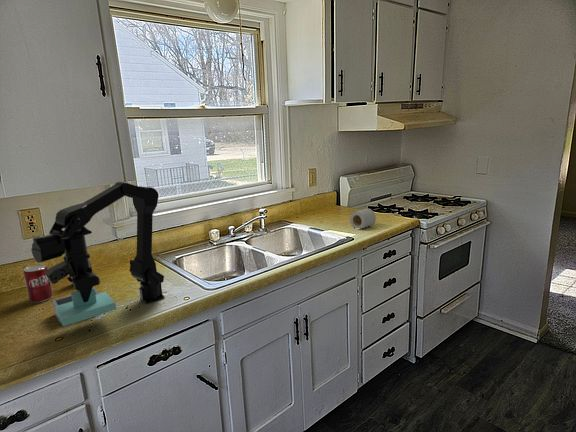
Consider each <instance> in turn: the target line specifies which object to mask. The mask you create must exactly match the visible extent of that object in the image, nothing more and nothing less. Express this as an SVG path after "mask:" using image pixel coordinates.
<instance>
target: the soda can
mask: <svg viewBox="0 0 576 432" xmlns="http://www.w3.org/2000/svg"><path fill="white" fill-rule="evenodd" d="M48 269H49V268H48V266H47V265H46V264H34V265H30V266H27V267H26V268H24V269H23V272H22V273H23V278H24V282H25V287H26V292H27V297H28V300H29V302H30V303H31V304H38V303H44V302H47V301H49V300H50V299H52V297H53V296H54V293H53V288H52V283H51V281H50V280H49V279H48V277H47V276H46V274H45V273H44V272H45V271H46V270H48Z"/></svg>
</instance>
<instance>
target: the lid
mask: <svg viewBox="0 0 576 432" xmlns="http://www.w3.org/2000/svg"><path fill="white" fill-rule="evenodd" d="M95 289H96V288H94V287H93V288H92V291H91V294H90V297H89V300H88V302H84V301H83V299H82V297H81V294H80V292H79V291H78V290H75V291H73V292H70V295H71V296H72V302H69V303H65V304H62V305H58V306H55V310H56V314H57V316H58V318H59V319H60V321H61V323H62V324H61V325H62V327H65V326H69V325H72V324H75V323H78V322H81V321H84V320H88V319H90V318H94V317H96V316H100V315H103V314H106V313H110V312H112V311H115V310H117V305H116V304H117V303H116V301H115V300H114V299H113V298H112V297H111V296H110V295H109V294H108V293H107V292H106V291H104V292H101V293H100V292H99V294H96V295H95Z"/></svg>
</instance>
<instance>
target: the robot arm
mask: <svg viewBox="0 0 576 432" xmlns="http://www.w3.org/2000/svg"><path fill="white" fill-rule="evenodd" d="M124 197H128V198H131V200H132V204H133V206H134V208H135V211H136V213H137V214H136V215H137V216H136V217H137V218H136V255H135V256H134V259H130V260H129V272H130V275H131V277H133V278H134V279H136V281H137V282H138V283H139V284H140V286H139V289H138V291H139V297H140V299H141V300H142V301H143V302H144V303H146V304H149V303H153V302H156V301H159V300H162V299H165V298H166V297H165V295H164V294H163V289H162V283H163V282H164V280H165V275H163V274H162V273H160V272H158V270H157V264H156V261H155V259H154V257H153V215H154V212H155V210H156V209H157V206H158V202H159V192H158V191H157V189H156V188H154V187H151V186H142V185H139V186H138V185H135V184H131V183H130V182H126V181H117V182H115V183H114V184H113V185H112V186H110V187H108V188H106V189H104V190H103V191H101V192H100V193H98V194H96V195H94V196H92V197H91V198H88V200H86V201H84V202H82V203H77V204H74V205H70V206H68V207H65V208H62V209H60V210H58V211H57V213H56V214H55V218H54V219H55V221H54V223H53V225H52V226H51V229H50V231H49V233H48V234H47V235H43V236H36V237H33V239H32V241H33V242H32V243H31V244H32V245H31V250H30V251H31V254H32V257H33V258H34V260H35V262H37V263H38V264H39V263H43V262H46V261H50V260H53V259H57V258H60V257H62V256H63V261H61V262H58V263H57V264H55V265H53V266H52V267H51V266H50V268H48V270H46V271H45V272H44V273H45V274H46V276H47V277H48V279H49V280H50V283H51V285H55V284H57V283H58V282H60V281H61V280H63V279H64V278H66V277H67V278H66V279H67V281H68V282H70V283H71V286H72V287H73V288H74V290H75V291H79V292H80V294H81V297H82V299H83V301H84V302H88V300H89V297H90V294H91V291H92V288H94V287H95V286H99V285H100V284H101V281H100V277H99V276H98V274H96V273H94V272H93V267H92V265H91V266H90V264H89V260H90V258H91V257H90V254H89V253H88V248H87V241H86V236H87V235H91V234H92V230H89V228H86V225H87V224H88V223H89V222H91V220H92V219H93V217H94V216H95V215H96V214H98V213H99V212H100V211H102V210H105V208H107V207H110V205H112V204H114V203H115V202H117V201H119V200H121V199H122V198H124ZM90 271H92V272H93V273H88V272H90ZM68 276H69V277H68Z"/></svg>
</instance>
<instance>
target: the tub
mask: <svg viewBox="0 0 576 432" xmlns="http://www.w3.org/2000/svg"><path fill="white" fill-rule="evenodd" d="M94 289H95V295H96V294H100V292H98V290H97V289H96V288H94ZM69 302H72V296H71V294H70V295H67V296H64V297H63V296H62V297H59V298H57V299H52V307H53V311H54V316H55V317H56V320H57V321H58V323H59V325H62V323H61V321H60V319H59V318H58V316H57V314H56V310H55V306H58V305H62V304H65V303H69Z"/></svg>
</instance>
